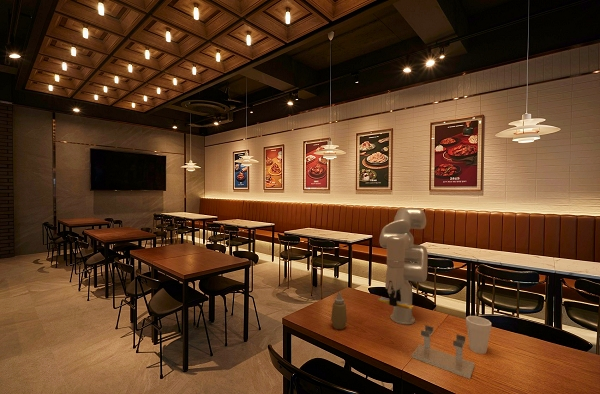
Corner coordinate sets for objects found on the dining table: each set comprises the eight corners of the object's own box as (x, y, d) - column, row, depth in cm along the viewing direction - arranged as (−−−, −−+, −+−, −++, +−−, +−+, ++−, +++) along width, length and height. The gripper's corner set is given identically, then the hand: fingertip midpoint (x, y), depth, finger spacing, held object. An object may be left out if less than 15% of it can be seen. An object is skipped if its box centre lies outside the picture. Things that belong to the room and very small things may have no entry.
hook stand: (419, 347, 124) (419, 321, 124) (474, 366, 111) (474, 337, 110) (412, 357, 116) (412, 330, 116) (470, 379, 103) (470, 348, 103)
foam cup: (482, 358, 116) (483, 327, 116) (461, 347, 124) (461, 318, 124) (495, 352, 121) (495, 322, 120) (473, 342, 129) (474, 314, 129)
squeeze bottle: (348, 325, 144) (349, 290, 144) (344, 332, 137) (344, 296, 137) (333, 322, 148) (334, 288, 148) (328, 328, 140) (329, 293, 140)
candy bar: (375, 301, 129) (375, 297, 129) (379, 298, 132) (379, 294, 132) (411, 311, 118) (412, 307, 118) (415, 308, 121) (415, 304, 121)
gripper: (394, 259, 134) (394, 296, 134) (379, 265, 121) (379, 307, 121) (410, 261, 129) (410, 300, 129) (396, 268, 116) (395, 312, 116)
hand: (395, 303), depth 125 cm, fingers closed on candy bar, 4 cm apart
